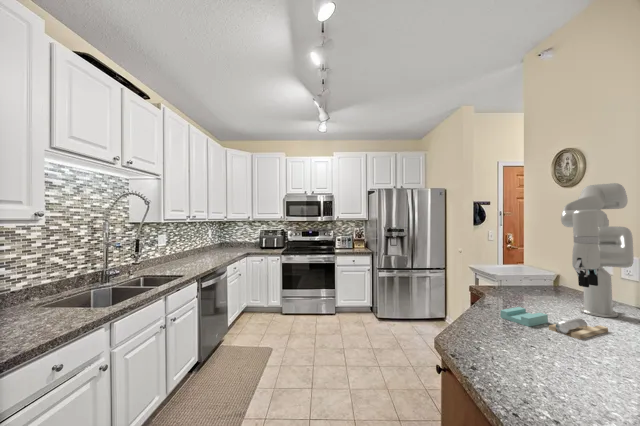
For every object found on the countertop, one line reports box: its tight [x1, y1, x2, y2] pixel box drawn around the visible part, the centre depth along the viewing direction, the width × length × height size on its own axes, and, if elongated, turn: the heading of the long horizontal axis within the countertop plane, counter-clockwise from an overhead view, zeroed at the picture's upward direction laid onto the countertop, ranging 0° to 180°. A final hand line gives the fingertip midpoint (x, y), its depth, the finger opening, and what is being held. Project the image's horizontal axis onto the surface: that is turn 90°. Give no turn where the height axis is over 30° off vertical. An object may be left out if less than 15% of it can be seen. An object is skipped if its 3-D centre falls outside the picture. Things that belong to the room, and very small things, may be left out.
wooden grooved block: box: [548, 323, 609, 340], centre depth 110 cm, size 18×10×2 cm, turn 110°
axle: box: [555, 317, 588, 335], centre depth 109 cm, size 12×4×4 cm, turn 110°
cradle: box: [499, 306, 549, 328], centre depth 122 cm, size 12×12×4 cm
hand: (588, 285), depth 113 cm, fingers open, 5 cm apart
